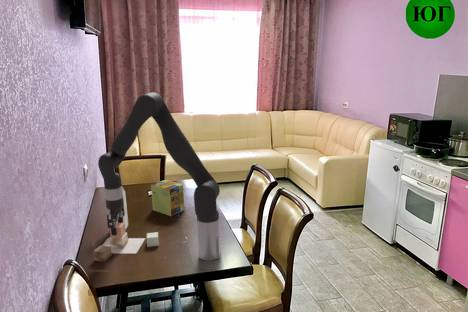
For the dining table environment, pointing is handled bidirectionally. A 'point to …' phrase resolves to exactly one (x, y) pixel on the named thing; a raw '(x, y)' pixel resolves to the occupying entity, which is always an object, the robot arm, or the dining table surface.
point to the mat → (127, 246)
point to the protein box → (167, 197)
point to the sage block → (152, 239)
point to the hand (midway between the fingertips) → (117, 230)
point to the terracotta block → (119, 230)
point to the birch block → (118, 242)
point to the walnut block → (102, 253)
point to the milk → (125, 210)
